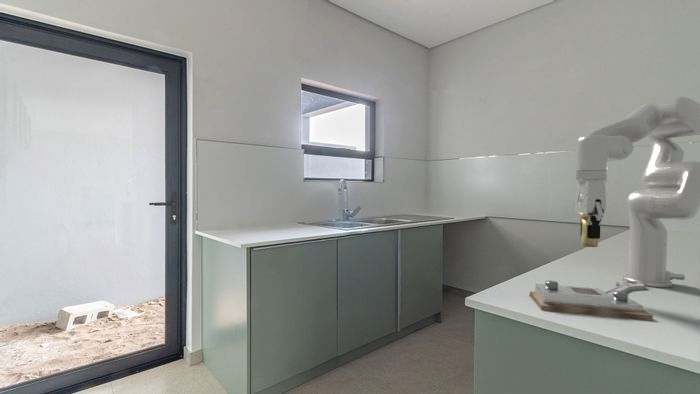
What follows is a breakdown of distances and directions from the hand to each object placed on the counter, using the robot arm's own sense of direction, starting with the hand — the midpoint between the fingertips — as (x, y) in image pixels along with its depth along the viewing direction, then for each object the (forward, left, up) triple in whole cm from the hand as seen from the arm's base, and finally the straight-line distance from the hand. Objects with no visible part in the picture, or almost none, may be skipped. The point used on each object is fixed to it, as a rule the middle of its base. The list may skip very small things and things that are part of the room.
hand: (589, 236), depth 100 cm
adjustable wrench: (-10, -5, -18) cm, 21 cm away
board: (+6, +14, -17) cm, 23 cm away
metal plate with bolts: (+6, +14, -16) cm, 22 cm away
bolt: (0, 0, -3) cm, 3 cm away
